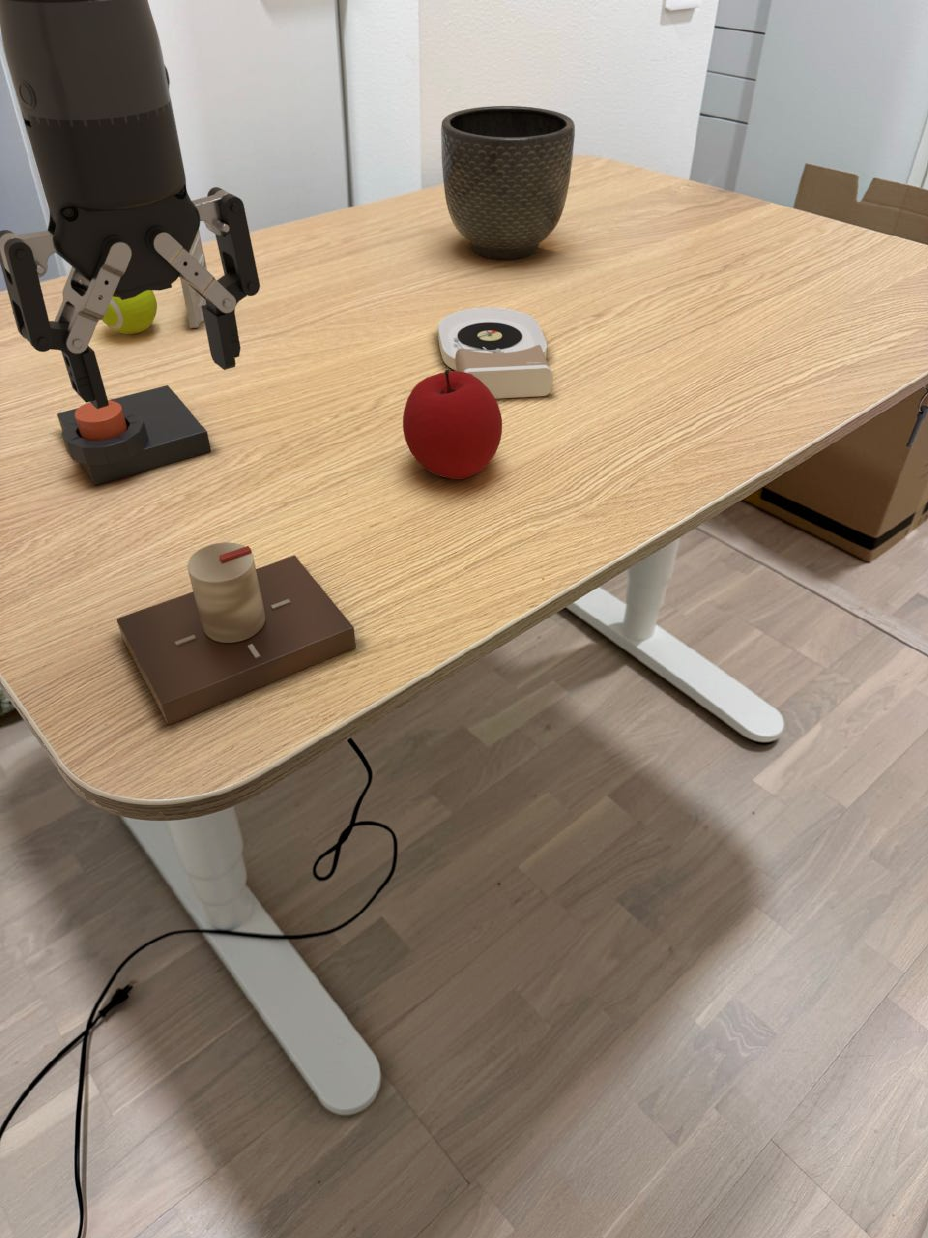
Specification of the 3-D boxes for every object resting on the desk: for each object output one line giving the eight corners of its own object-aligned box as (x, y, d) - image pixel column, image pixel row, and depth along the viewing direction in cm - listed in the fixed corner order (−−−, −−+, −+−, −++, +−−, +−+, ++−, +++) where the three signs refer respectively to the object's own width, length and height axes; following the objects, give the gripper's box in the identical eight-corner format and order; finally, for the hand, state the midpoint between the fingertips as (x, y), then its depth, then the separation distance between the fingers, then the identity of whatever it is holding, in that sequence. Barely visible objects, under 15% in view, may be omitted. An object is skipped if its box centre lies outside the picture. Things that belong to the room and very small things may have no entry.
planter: (449, 225, 133) (448, 103, 123) (566, 229, 132) (575, 106, 122) (435, 269, 121) (432, 136, 110) (565, 274, 119) (575, 140, 109)
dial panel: (168, 725, 60) (161, 703, 59) (122, 639, 66) (115, 617, 65) (356, 647, 66) (353, 625, 64) (297, 574, 72) (294, 553, 71)
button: (87, 446, 80) (81, 426, 78) (75, 427, 82) (69, 407, 81) (132, 434, 81) (127, 413, 80) (119, 415, 84) (113, 395, 82)
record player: (450, 372, 91) (433, 296, 106) (450, 400, 93) (433, 322, 108) (564, 367, 92) (531, 292, 107) (562, 395, 94) (530, 318, 109)
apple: (521, 475, 83) (526, 374, 76) (434, 504, 79) (432, 400, 73) (470, 431, 89) (470, 333, 82) (387, 456, 85) (381, 356, 79)
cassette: (202, 329, 106) (189, 263, 101) (185, 329, 106) (172, 263, 101) (214, 289, 115) (203, 226, 110) (199, 289, 115) (187, 227, 110)
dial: (216, 651, 62) (199, 586, 59) (193, 616, 65) (176, 551, 61) (275, 628, 64) (263, 564, 60) (251, 595, 67) (238, 531, 63)
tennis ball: (90, 335, 105) (74, 277, 101) (133, 315, 109) (119, 259, 105) (132, 348, 103) (117, 290, 98) (174, 327, 107) (162, 270, 102)
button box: (87, 494, 81) (74, 455, 78) (53, 436, 88) (40, 398, 85) (215, 455, 85) (207, 417, 83) (172, 404, 93) (164, 367, 90)
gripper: (190, 67, 53) (236, 335, 63) (-70, 101, 46) (30, 393, 57) (252, 90, 48) (290, 373, 59) (-26, 131, 42) (73, 442, 52)
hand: (162, 383), depth 58 cm, fingers open, 8 cm apart
